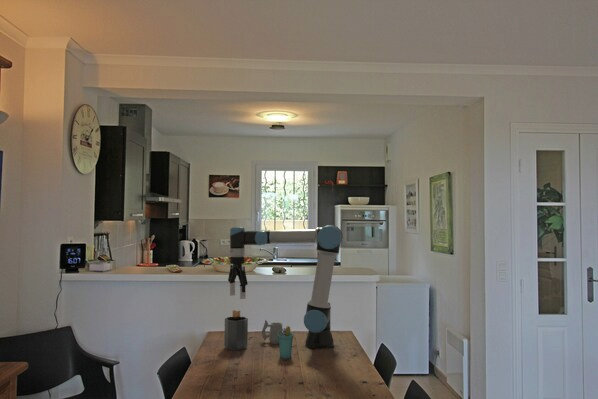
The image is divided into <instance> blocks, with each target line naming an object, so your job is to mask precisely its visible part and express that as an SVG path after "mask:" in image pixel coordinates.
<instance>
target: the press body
mask: <svg viewBox="0 0 598 399" xmlns="http://www.w3.org/2000/svg"><path fill="white" fill-rule="evenodd" d="M232 318H233V316H228V317H225V318H224V338H223V339H224V349H225V350H227V351H243V350H246V349H247V347H248V339H249V338H248V337H249V336H248V333H249V332H248V331H249V328H248V327H249V326H248V323H249V322H248V321H249V319H248V317H246V316H240V320H238V321H234V320H232Z"/></svg>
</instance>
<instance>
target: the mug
mask: <svg viewBox="0 0 598 399" xmlns="http://www.w3.org/2000/svg"><path fill="white" fill-rule="evenodd" d="M267 328H269V333H268V334H266V329H267ZM283 329H284V328H283V324H282V323H281V322H272V323H268V321H267V319H265V320H264V324H263V327H262V330H261V336H262V339H263V341H266V340H267V339H268V340H269V343H271V344H275V345H276V344H279V337H278V334H281V333H283Z"/></svg>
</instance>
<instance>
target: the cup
mask: <svg viewBox="0 0 598 399" xmlns="http://www.w3.org/2000/svg"><path fill="white" fill-rule="evenodd" d="M282 329H283V331H282V333H281V334H278V337H279V343H278V346H279V349H278V350H279V357H280V358H281V359H291V358H292V350H293V349H292V348H293V339H294V334H293V333H291V327H290V326H289V325H287V326H286V327H284V328H282Z"/></svg>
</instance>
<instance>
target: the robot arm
mask: <svg viewBox="0 0 598 399" xmlns="http://www.w3.org/2000/svg"><path fill="white" fill-rule="evenodd" d="M229 230H230V231H229V232H230V233H229V245H230V246H229V248H230V249H229V254H230V258H229V260H230V261H229V263H230V267H229V273H228V280H227V281H228V282H229V296H230V297H231V296H236V280H237V277H238V280H239V283H240V284H239V299H240V300H244V299H245V300H246V296H247V295H246V292H247V291H246V286H248V279H247V274H246V266H244V264H245V261H246V260H245V259H246V258H245V251H246V250H245V249H246V248H245V246H250V245H251V246H265V245H270V244H272V245H273V244H274V245H277V244H280V245H282V244H288V245H289V244H292V245H293V244H297V245H298V244H315V245H316V251H317V253H318V257H317V261H316V268H315V275H314V281H313V287H312V293H311V299H310V300H309V301H308V302H307V304H306V305H307V306H306V310H305V314H304V316H303V325H304V327H305V328H306V330H308V332H307V335H306V339H305V342H304V343H305V347H308V348H311V349H319V350H320V349H329V348H333V347H334V346H335V345H334V338H333V335H332V332H331V310H332V307H331V302H330V301H329V297H330V290H331V286H332V278H333V272H334V268H335V261H336V256H338V255H339V254H340V249H341V243H342V241H343V232H342V230H341V228H340V227H339V226H336V225H334V224H327V225H324V226H322V227H320V226H317V227H316V228H313V229H312V228H311V229H310V228H309V229H269V230H268V229H260V230H245V227H243V226H237V227H236V226H235V227H234V226H233V227H230V229H229Z"/></svg>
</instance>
